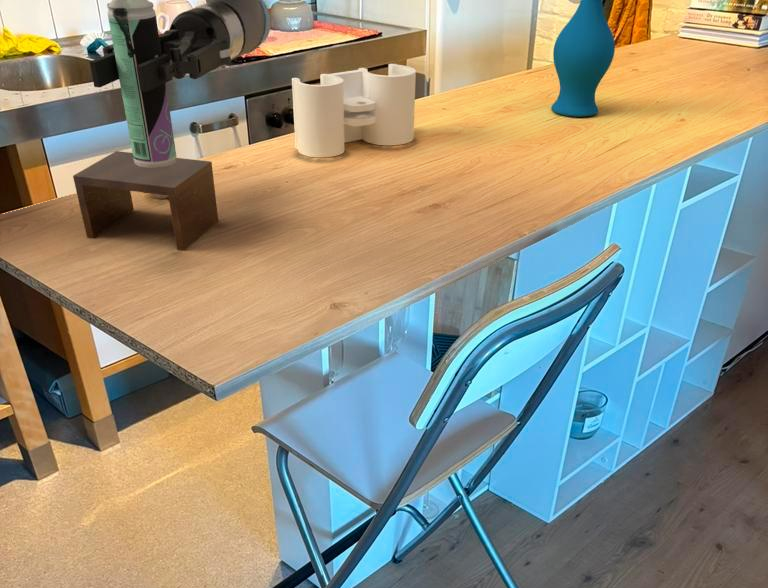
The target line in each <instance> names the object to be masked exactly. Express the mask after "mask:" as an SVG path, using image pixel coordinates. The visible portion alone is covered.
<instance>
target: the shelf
mask: <svg viewBox="0 0 768 588" xmlns="http://www.w3.org/2000/svg"><path fill="white" fill-rule="evenodd" d="M176 158H177V161H176V162H175V163H173V164H171V165H168V166H164V167H155V168H150V167H141V166H138V165H136V164H135V163H134V159H133V153H132V152H128V151H119V150H116V151H114V152H111V153H110V154H109V155H106V156H105V157H103V158H102V159H100V160H98V161H96V162H94V163H93V164H91V165H89V166H87V167H85V168H84V169H83V170H81V171H79V172H77V173H75V174H73V175H72V178H73V183H74V186H75V192H76V195H77V196H76V197H77V200H78V205H79V208H80V212H81V218H82V221H83V227H84V230H85V235H86V238H90V239H95V238H96V237H98V236H99V235H101V234H102V233H103V232H105V231H106V230H108V229H109V228H111V227H112V226H114V225H116V224H117V223H119V221H121V220H123V219H124V218H125V217H127V216H128V215H129V214H131V213H133V212H134V211H135V209H134V203H133V198H132V193H131V192H135V193H136V192H137V193H143V194H144V193H146V194H149V193H152V194H160V195H168V203H169V208H170V216H171V223H172V228H173V235H174V242H175V246H176V247H175V248H176V250H177V251H185V250H186V249H188V248H189V247H190V246H191V245H192V244H193V243H194V242H196V241H197V240H198V239H200V238H201V237H202V236H203V235H204V234H206V233H207V232H208V231H209V230H210V229H211V228H212V227H213V226H214V225H216V224H217V223H219V214H218V213H219V212H218V204H217V195H216V187H215V180H214V170H213V162H212V161H209V160H200V159H193V158H192V159H190V158H182V157H176Z"/></svg>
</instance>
